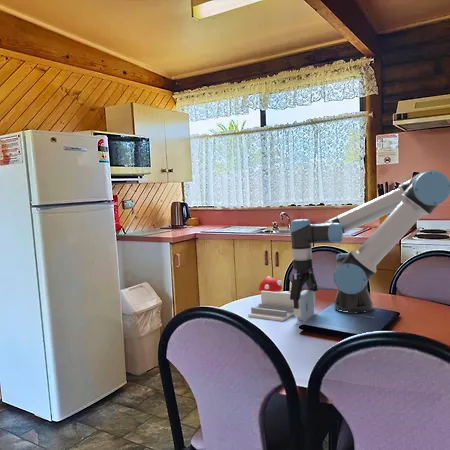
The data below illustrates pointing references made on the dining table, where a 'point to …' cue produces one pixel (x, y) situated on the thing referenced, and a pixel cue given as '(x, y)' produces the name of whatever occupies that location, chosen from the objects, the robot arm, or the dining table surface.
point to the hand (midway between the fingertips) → (305, 311)
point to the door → (306, 305)
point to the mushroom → (270, 285)
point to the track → (274, 306)
